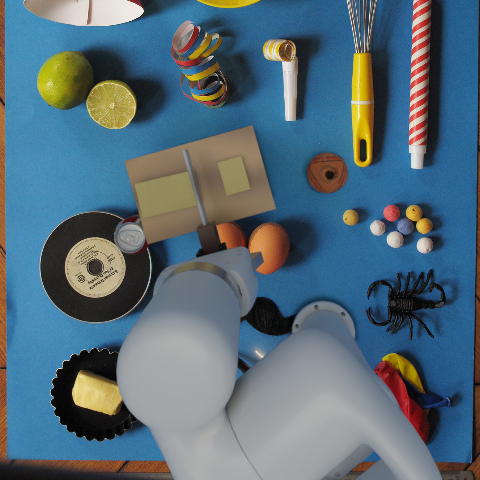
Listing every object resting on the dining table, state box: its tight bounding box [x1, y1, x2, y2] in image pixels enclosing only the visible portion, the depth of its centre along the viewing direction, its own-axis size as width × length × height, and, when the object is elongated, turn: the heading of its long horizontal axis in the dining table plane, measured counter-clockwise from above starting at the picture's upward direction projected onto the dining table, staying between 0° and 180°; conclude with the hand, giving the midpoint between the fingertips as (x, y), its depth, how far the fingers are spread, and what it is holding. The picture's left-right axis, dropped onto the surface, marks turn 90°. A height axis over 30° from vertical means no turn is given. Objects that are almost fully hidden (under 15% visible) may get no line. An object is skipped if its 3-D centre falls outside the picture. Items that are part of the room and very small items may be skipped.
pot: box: [306, 152, 349, 194], centre depth 82 cm, size 8×8×7 cm
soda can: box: [113, 212, 153, 255], centre depth 80 cm, size 7×7×12 cm
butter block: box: [135, 171, 197, 218], centre depth 61 cm, size 5×8×4 cm, turn 103°
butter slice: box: [218, 156, 251, 196], centre depth 61 cm, size 5×2×4 cm
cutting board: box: [124, 124, 277, 245], centre depth 74 cm, size 13×20×23 cm, turn 106°
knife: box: [182, 149, 222, 256], centre depth 54 cm, size 19×2×3 cm, turn 16°
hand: (215, 256), depth 55 cm, fingers closed on knife, 2 cm apart
